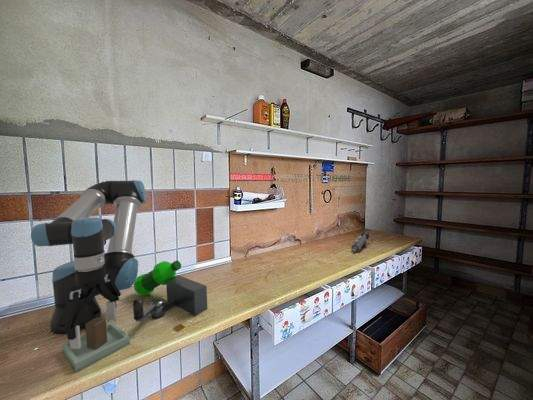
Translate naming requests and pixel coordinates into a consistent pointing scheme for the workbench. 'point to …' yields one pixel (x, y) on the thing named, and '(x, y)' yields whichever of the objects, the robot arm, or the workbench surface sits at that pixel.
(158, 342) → the workbench surface
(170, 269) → the plastic bottle
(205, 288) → the stand
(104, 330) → the wooden block
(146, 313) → the crank
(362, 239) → the hydraulic cylinder
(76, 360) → the tray
